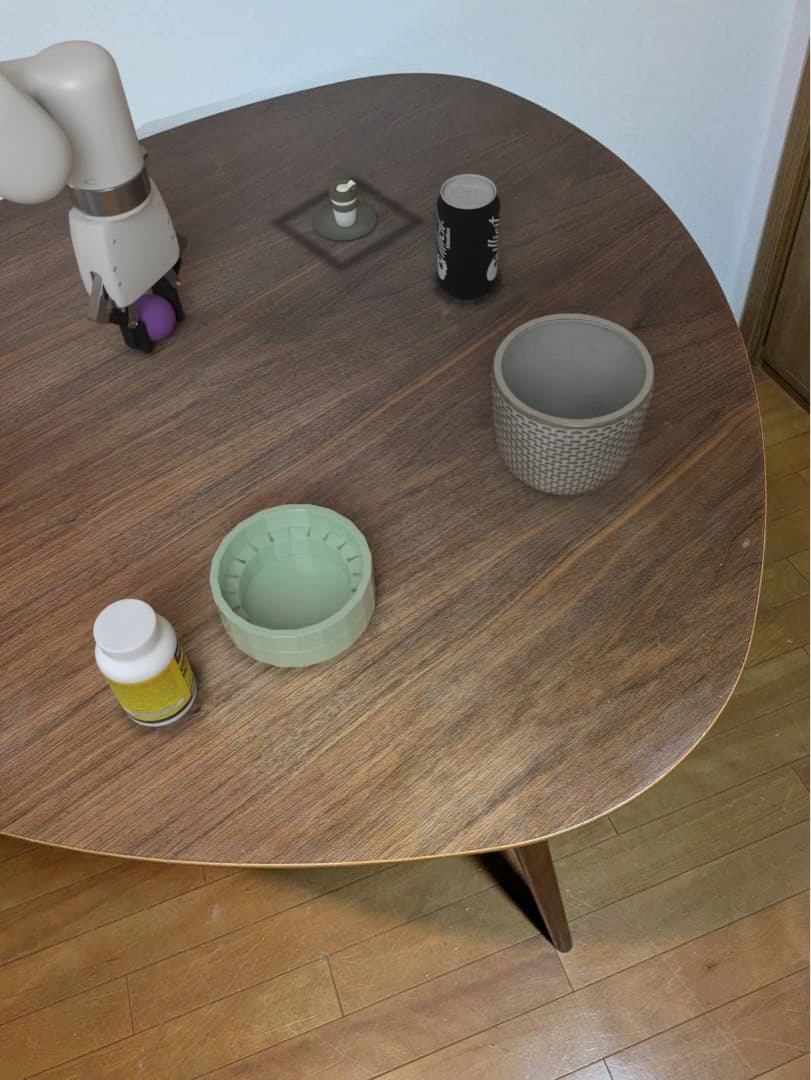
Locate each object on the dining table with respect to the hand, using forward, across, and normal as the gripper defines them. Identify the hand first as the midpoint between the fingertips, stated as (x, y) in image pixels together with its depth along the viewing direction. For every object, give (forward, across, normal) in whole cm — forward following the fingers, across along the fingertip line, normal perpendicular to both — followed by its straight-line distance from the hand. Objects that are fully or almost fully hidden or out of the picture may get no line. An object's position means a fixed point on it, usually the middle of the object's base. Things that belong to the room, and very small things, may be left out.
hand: (156, 330), depth 107 cm
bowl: (+1, +21, +33) cm, 39 cm away
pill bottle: (+1, +34, +28) cm, 44 cm away
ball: (+1, 0, 0) cm, 1 cm away
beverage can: (+1, -23, +26) cm, 35 cm away
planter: (+1, -4, +46) cm, 47 cm away
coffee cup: (+1, -26, +8) cm, 28 cm away
